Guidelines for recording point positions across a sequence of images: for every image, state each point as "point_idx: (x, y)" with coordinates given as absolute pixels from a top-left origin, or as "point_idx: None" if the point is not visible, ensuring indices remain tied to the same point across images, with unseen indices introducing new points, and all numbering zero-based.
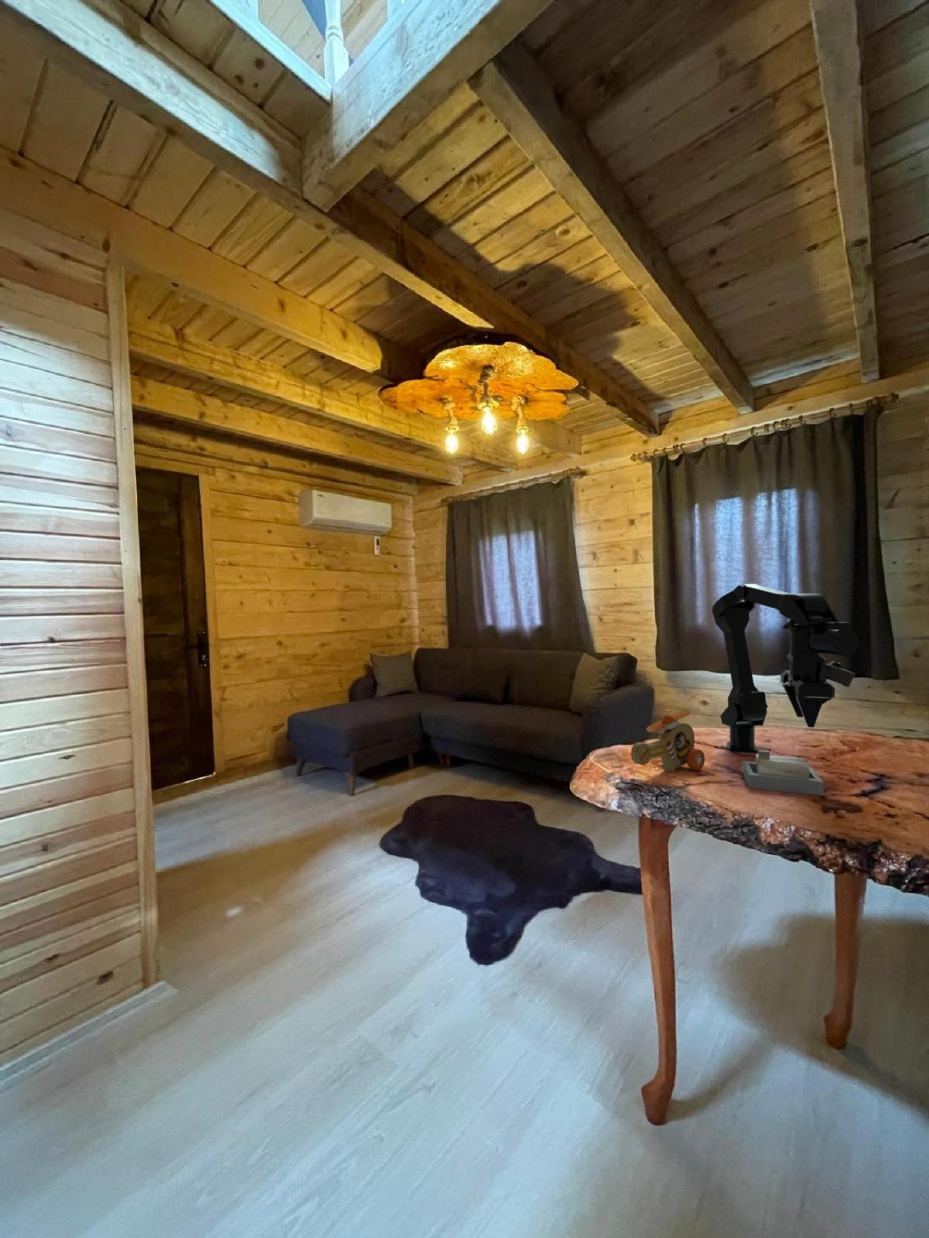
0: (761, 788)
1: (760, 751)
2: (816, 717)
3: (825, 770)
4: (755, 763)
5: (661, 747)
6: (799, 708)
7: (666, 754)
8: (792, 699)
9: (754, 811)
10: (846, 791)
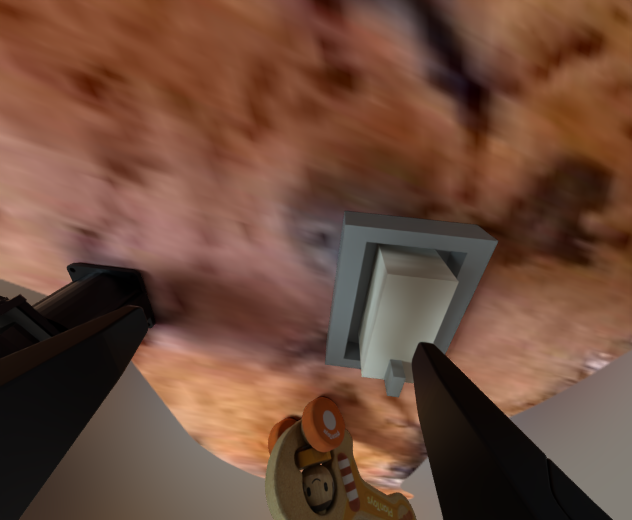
0: None
1: (399, 394)
2: (498, 413)
3: (240, 131)
4: (342, 346)
5: (370, 507)
6: (94, 370)
7: (359, 479)
8: (31, 484)
9: (551, 374)
10: (442, 144)
